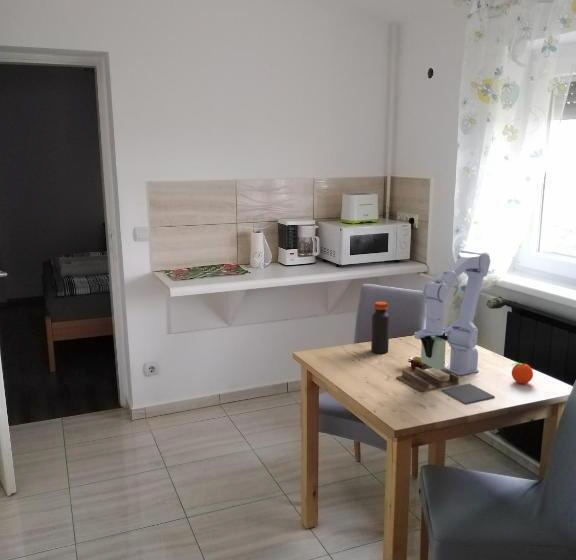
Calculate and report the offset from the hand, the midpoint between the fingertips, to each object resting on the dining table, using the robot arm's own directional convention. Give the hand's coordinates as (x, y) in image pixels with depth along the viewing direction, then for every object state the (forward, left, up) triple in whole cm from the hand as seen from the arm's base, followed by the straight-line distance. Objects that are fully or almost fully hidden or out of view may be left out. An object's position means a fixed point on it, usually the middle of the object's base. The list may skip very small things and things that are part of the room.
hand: (432, 356), depth 203 cm
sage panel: (0, 0, -3) cm, 3 cm away
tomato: (-29, +12, -11) cm, 33 cm away
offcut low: (-5, -3, -10) cm, 11 cm away
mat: (-6, +12, -10) cm, 17 cm away
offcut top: (-5, -3, -9) cm, 10 cm away
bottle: (-3, -37, -11) cm, 38 cm away
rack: (-1, -3, -10) cm, 11 cm away
